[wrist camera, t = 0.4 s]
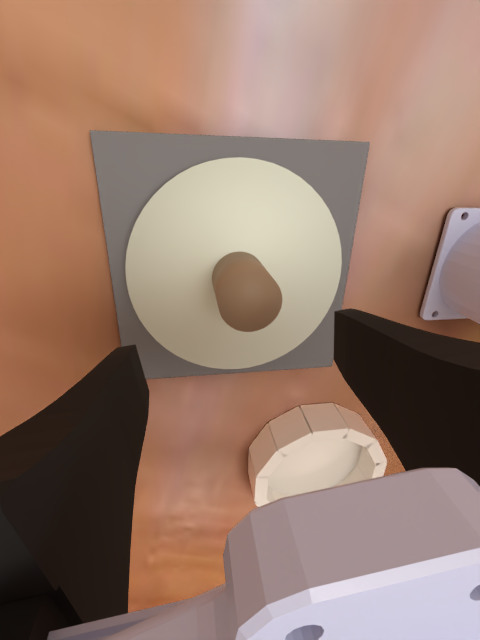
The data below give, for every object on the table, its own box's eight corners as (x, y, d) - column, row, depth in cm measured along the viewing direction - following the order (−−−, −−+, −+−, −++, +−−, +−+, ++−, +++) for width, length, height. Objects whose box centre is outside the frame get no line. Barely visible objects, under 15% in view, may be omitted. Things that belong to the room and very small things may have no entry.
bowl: (377, 398, 28) (398, 423, 25) (355, 487, 33) (370, 516, 30) (250, 409, 26) (258, 437, 24) (246, 502, 31) (252, 534, 28)
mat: (364, 142, 19) (370, 142, 19) (328, 362, 25) (331, 366, 25) (92, 131, 17) (89, 130, 16) (127, 375, 23) (126, 380, 23)
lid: (350, 161, 19) (402, 160, 14) (321, 355, 24) (352, 398, 20) (113, 153, 17) (88, 149, 12) (140, 367, 22) (129, 417, 18)
